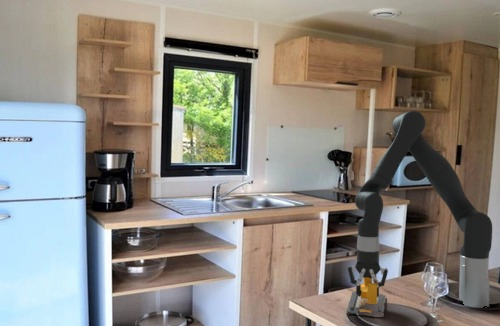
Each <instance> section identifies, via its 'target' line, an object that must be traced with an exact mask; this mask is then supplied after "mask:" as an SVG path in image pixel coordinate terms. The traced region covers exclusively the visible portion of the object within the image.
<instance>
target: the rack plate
mask: <svg viewBox="0 0 500 326" xmlns="http://www.w3.org/2000/svg"><path fill="white" fill-rule="evenodd" d="M377 303H379V305H378V312H381V308H382V303H385V304H386V295H385V294H383V293H379V296H378V297H377ZM364 304H369V303H368V301H367V299H361V297H359V296H358V295H357V294H356V290H354V291H352V292H351V296H350V299H349V302H348V305H347V309H346V314H347V313H348V312H351V313H356V310H357V309H358V308H359V307H360V306H361V305H364ZM359 311H360V312H369V313H372V310H366V309H359Z"/></svg>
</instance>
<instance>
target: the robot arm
mask: <svg viewBox="0 0 500 326" xmlns="http://www.w3.org/2000/svg"><path fill="white" fill-rule="evenodd" d="M425 127H426V119H425V116H424V115H423V114H422V113H421V112H419V111H417V110H409V111H407V112H404V113H402V114H400V115H398V116H396V117H395V118H394V120H393V121H392V130H393V133H394V134H395V136H394V137H395V138H394V139H393V141H392V143H391V145H390V146H389V147H388V148H387V150H386V151H385V153H383V155H382V156H381V157H380V159H379V160H378V162H377V164H376V166H375V167H374V169H373V171H372V173H371V175H370V177H369V178H368V179H367V180H366V181H365V183H364V184H363V185H362V186H361V188H360V189H359V190H358V191H357V193H356V196H355V198H354V199H355V200H354V203H355V206H356V208H357V209H358V210H360V211H363V212H364V214H363V218H361V219H359V220H358V222H357V224H358V225H357V241H356V243H357V244H356V264H355V265H348V268H347V271H348V275H349V279H350V284H352V285H355V286H356V287H355V291H356V294H357V295H358V296H359V297H360V295H361V285H360V284H361V282H362V280H363V279H364V278H366V277H368V278H372V283H374V284H377V297H378V296H379V295H380V288H382V287H384V286H385V283H386V280H387V276H388V272H389V269H388V268H387V267H386V268H384V267H381V265H380V239H379V236H380V235H379V234H380V233H379V232H380V231H379V230H380V229H379V228H380V227H379V226H380V225H379V224H380V222H381V219H382V214H383V211H384V210H383V209H384V200H383V198H382V196H381V194H380V192H382V191H385V190H387V189H388V188H389V186H390V184H391V182H392V181H393V179H394V176H395V175H396V173H397V171H398V169H399V167H400V166H401V163H402V162H403V160H404V159H405V156H406V155H407V154H408V152H409V153H410V155H411V156H412V157H413V159H414V160H415V162H416V164H417V165H418V166H419V168H420V169H421V171H422V173H423V174H424V176H425V177H426V179H427V180H428V182H429V183H430V184H431V186H432V188H434V190H435V192H436V193H437V195H438V196H439V197H440V199H442V201H443V202H444V203H445V205H446V206H447V207H448V209H449V211H450V213H451V214H452V216H453V218H454V220H455V222H456V224H457V226H458V227H459V229H460V231H461V232H463V235H464V236H463V244H462V246H461V247H460V252H459V287H458V288H459V289H458V290H459V291H458V294H459V295H458V298H459V299H460V300H462V301H463V304H464V305H463V306H464V307H468V308H476V309H484V308H483V307H484V306H487V307H489V308H490V284H491V283H490V279H489V260H490V259H489V258H490V251H491V249H492V244H493V222H492V220H491V218H490V216H488V215H487V214H486V213H484V212H482V211H479V210H477V209H476V208H475V206H474V205H473V204H472V203H471V201H470V200H469V199H468V198H467V195H466V194H465V191H464V188H463V186H462V183H461V181H460V178H459V176H458V174H457V172H456V171H455V169H454V168H453V166H452V165H451V164H450V162H449V160H448V159H447V158H446V157H444V156H443V154H441V153H440V152H439V151H437V150H436V149H435V148H434V147H432V146H431V145H430V144H429V143H428V141H426V139H425V138H424V136H423V134H422V133H423V131H424V130H425ZM355 270H356V271H357V272H358V273H359V274H358V277H357V280H356V279H355V275H354V272H355ZM379 272H380V274H381V275H382V277H381V280H380V281H379V280H378V277H377V274H378V273H379ZM459 299H458V300H459ZM487 307H486V308H487Z"/></svg>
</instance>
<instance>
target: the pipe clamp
mask: <svg viewBox="0 0 500 326" xmlns="http://www.w3.org/2000/svg"><path fill="white" fill-rule="evenodd" d="M362 280H363V281H362V282H363V284H361V283H360V285H361V295H360V297H361V299H367V301H368V303H369V304H377V284H374V282H373V279H372V278H368V277H366V278H363V279H362Z"/></svg>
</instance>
